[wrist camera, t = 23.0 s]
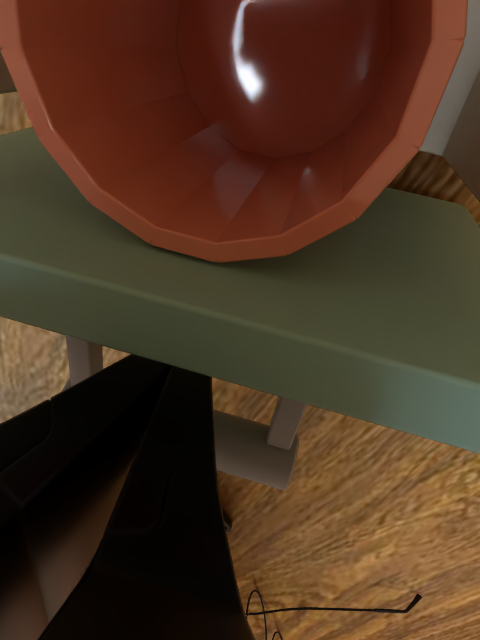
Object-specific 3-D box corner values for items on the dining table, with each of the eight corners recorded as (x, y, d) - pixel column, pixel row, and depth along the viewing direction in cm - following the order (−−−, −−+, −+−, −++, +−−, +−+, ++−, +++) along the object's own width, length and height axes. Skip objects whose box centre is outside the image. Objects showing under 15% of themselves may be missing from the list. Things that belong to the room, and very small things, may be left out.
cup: (444, 81, 10) (546, 122, 5) (250, 201, 13) (176, 314, 7) (330, -203, 8) (286, -694, 3) (128, 11, 11) (-94, -25, 5)
